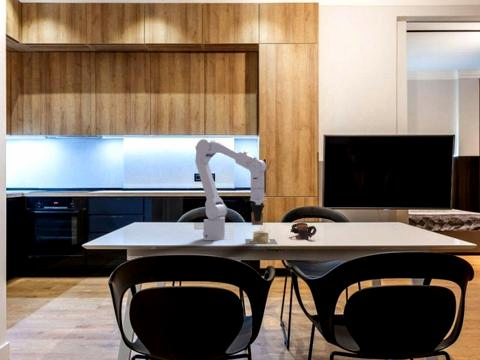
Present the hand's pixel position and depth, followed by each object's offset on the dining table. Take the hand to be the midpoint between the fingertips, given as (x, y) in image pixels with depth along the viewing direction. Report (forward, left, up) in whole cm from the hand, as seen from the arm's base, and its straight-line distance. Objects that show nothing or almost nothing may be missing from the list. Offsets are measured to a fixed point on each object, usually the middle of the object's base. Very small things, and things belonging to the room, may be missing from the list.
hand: (257, 220), depth 175 cm
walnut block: (0, 0, -2) cm, 2 cm away
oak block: (+2, +1, -9) cm, 9 cm away
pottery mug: (+21, +11, -10) cm, 26 cm away
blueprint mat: (+2, 0, -9) cm, 9 cm away
